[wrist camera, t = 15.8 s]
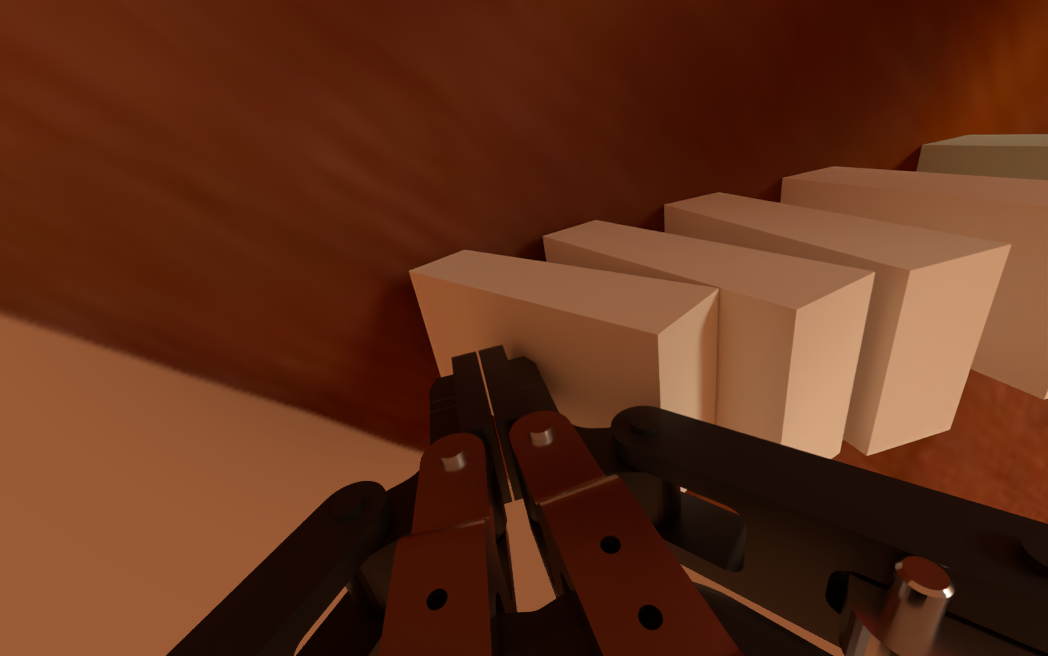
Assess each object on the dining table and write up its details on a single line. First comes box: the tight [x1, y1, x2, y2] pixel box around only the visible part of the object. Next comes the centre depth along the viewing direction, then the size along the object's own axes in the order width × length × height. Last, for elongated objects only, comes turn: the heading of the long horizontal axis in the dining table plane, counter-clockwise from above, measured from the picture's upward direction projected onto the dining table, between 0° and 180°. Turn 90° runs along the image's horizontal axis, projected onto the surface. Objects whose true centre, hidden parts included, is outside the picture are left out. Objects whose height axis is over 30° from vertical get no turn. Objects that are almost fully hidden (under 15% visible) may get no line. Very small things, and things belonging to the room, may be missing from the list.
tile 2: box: [543, 220, 875, 459], centre depth 14 cm, size 2×5×10 cm, turn 11°
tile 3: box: [664, 192, 1012, 456], centre depth 14 cm, size 2×5×10 cm, turn 11°
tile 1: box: [409, 250, 719, 492], centre depth 13 cm, size 2×5×10 cm, turn 12°
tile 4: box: [780, 166, 1048, 400], centre depth 15 cm, size 2×5×10 cm, turn 11°
